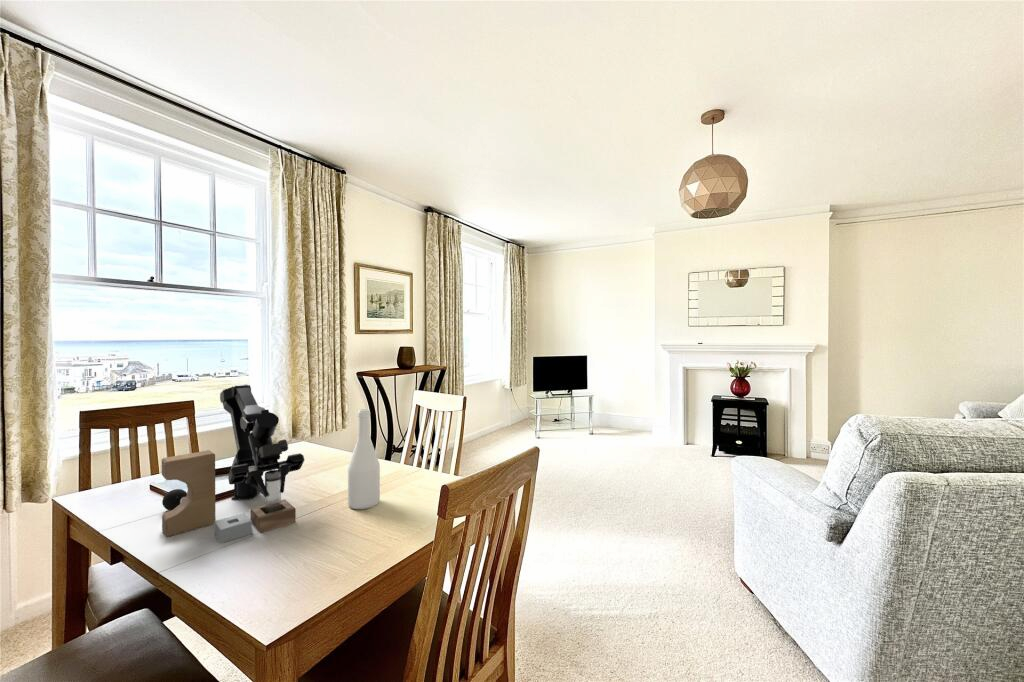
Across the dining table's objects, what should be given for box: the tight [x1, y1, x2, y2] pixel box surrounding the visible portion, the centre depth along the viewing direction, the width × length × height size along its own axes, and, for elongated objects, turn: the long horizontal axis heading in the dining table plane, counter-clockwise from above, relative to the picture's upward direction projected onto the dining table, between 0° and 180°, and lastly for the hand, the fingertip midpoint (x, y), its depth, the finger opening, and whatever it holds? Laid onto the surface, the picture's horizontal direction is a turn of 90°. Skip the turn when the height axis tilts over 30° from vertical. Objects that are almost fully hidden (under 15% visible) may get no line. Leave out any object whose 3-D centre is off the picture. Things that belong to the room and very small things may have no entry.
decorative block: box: [161, 449, 217, 538], centre depth 115 cm, size 11×6×20 cm, turn 137°
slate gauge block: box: [213, 512, 253, 544], centre depth 112 cm, size 7×7×4 cm
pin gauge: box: [264, 469, 282, 514], centre depth 119 cm, size 4×4×13 cm
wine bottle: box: [347, 408, 381, 510], centre depth 132 cm, size 10×10×30 cm
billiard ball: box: [161, 488, 187, 511], centre depth 127 cm, size 6×6×6 cm
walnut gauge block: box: [250, 498, 297, 534], centre depth 119 cm, size 9×9×4 cm
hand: (274, 494), depth 118 cm, fingers closed on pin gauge, 4 cm apart
